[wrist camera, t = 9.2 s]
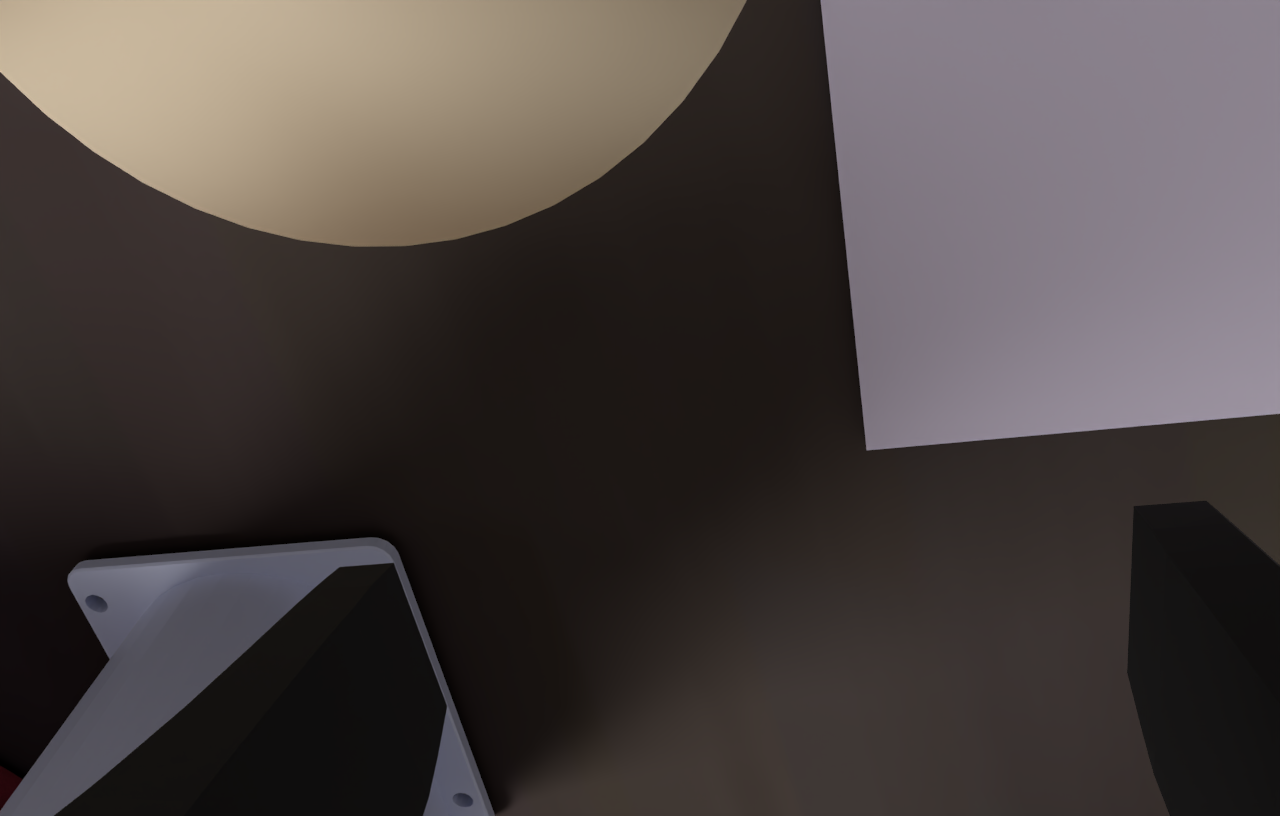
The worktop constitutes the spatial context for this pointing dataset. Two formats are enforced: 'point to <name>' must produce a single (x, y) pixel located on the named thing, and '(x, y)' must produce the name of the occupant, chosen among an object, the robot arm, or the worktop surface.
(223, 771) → the robot arm
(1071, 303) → the mat
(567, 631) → the worktop surface
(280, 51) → the lid
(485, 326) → the worktop surface
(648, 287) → the worktop surface
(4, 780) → the canister
